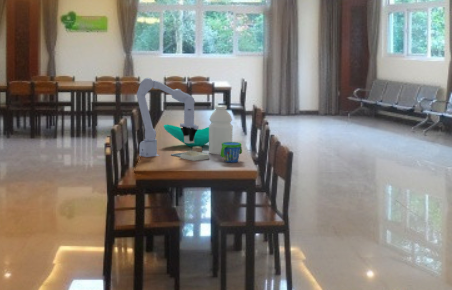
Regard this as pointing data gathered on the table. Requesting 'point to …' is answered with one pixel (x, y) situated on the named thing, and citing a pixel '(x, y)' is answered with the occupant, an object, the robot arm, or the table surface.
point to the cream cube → (192, 153)
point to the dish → (194, 158)
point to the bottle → (219, 129)
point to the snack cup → (231, 151)
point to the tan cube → (197, 149)
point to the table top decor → (199, 138)
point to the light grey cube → (187, 139)
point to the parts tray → (179, 154)
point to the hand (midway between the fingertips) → (188, 140)
